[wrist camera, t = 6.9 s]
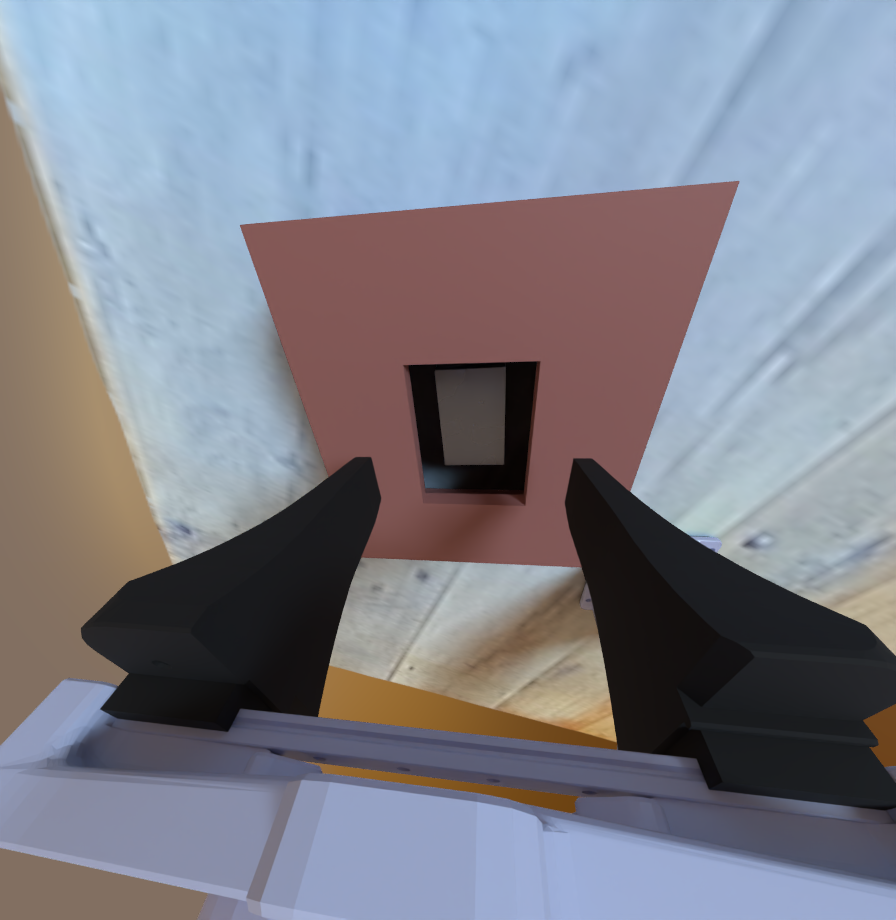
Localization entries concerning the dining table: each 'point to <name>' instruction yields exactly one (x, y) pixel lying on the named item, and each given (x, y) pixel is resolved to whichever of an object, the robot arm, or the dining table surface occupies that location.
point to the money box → (490, 344)
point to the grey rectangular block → (472, 412)
